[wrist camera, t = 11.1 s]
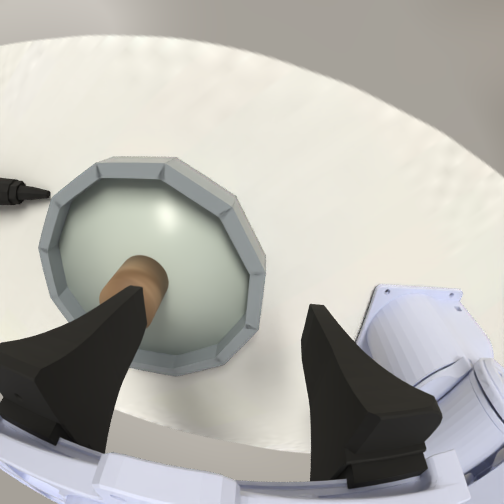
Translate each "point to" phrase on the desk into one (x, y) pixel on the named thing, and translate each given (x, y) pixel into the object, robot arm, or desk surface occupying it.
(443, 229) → the desk surface
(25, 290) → the desk surface
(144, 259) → the brown rounded piece
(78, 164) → the desk surface
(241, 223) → the round tray
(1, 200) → the microphone
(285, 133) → the desk surface
